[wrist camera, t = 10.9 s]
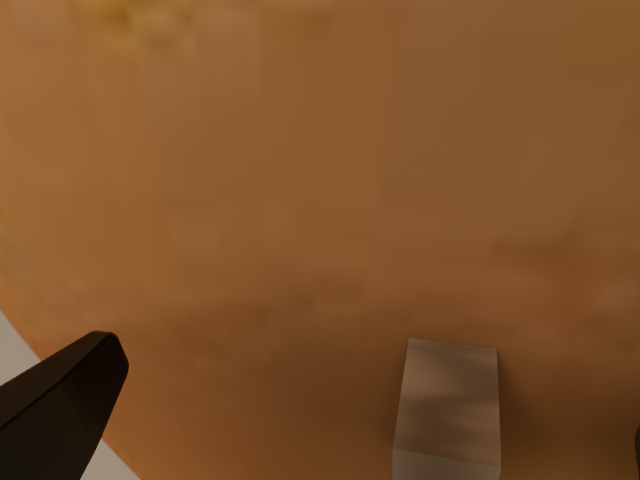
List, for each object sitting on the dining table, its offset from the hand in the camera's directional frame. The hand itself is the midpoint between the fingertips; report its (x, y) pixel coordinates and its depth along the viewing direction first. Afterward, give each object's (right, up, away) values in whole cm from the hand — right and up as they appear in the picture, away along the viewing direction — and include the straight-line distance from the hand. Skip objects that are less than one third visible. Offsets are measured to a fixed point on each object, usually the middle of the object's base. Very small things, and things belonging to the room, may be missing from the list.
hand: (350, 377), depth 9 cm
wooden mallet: (+6, -12, +22) cm, 26 cm away
